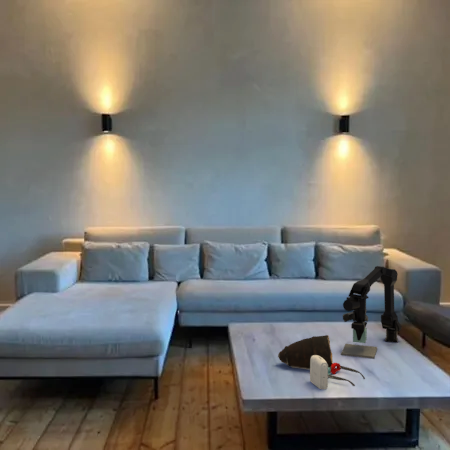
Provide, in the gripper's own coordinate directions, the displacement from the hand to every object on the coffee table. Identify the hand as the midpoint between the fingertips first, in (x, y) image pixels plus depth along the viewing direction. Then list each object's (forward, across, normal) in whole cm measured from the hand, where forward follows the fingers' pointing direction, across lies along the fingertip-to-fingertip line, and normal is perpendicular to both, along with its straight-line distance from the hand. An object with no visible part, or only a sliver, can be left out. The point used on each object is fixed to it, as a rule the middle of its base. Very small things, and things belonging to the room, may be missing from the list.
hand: (359, 338), depth 263 cm
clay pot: (+7, +30, -21) cm, 37 cm away
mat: (+7, 0, 0) cm, 7 cm away
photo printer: (+7, +50, -11) cm, 52 cm away
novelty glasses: (+8, +39, -2) cm, 40 cm away
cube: (+1, 0, 0) cm, 1 cm away
